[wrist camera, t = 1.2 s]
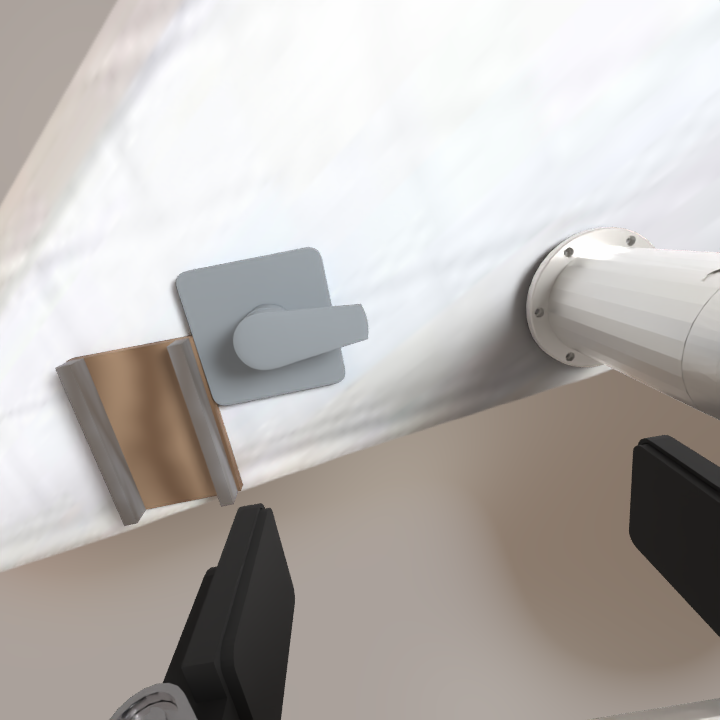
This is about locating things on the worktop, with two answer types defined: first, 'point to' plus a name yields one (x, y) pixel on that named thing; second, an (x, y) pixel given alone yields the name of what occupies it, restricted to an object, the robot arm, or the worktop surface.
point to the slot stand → (152, 425)
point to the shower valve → (268, 325)
